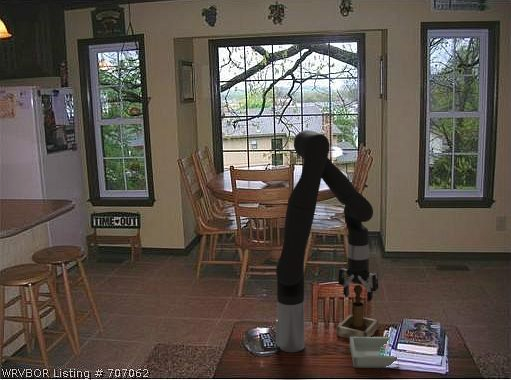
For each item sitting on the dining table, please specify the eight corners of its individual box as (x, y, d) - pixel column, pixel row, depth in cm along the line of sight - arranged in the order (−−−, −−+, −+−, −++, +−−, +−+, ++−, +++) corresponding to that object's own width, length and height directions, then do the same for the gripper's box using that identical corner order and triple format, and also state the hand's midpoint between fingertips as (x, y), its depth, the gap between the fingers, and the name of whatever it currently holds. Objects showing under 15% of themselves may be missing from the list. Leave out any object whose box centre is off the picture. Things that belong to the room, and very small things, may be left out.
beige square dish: (337, 335, 190) (337, 326, 189) (350, 322, 200) (350, 314, 199) (366, 342, 184) (366, 333, 183) (377, 329, 194) (378, 320, 193)
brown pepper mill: (368, 336, 188) (368, 289, 185) (350, 336, 189) (350, 289, 185) (364, 328, 195) (365, 282, 192) (347, 328, 195) (347, 282, 192)
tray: (353, 367, 168) (353, 357, 167) (349, 346, 182) (349, 336, 181) (398, 368, 167) (398, 357, 166) (390, 346, 181) (391, 337, 180)
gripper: (335, 255, 187) (335, 298, 190) (373, 261, 179) (373, 306, 182) (343, 249, 193) (343, 291, 196) (381, 255, 185) (380, 298, 189)
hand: (358, 298), depth 189 cm, fingers open, 8 cm apart
